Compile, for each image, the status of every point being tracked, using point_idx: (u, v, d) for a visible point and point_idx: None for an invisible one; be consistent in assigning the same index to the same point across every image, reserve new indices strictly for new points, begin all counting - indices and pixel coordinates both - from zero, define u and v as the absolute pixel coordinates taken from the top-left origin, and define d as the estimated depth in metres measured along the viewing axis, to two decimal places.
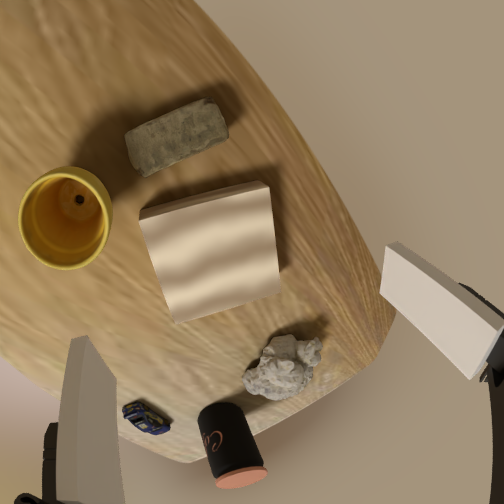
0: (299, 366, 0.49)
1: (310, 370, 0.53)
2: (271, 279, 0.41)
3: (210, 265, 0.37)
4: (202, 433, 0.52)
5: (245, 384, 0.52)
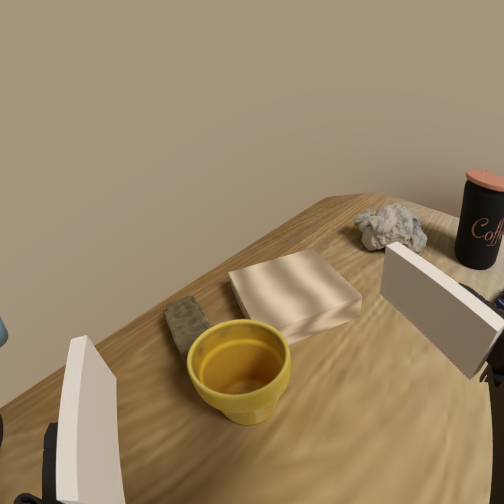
0: (374, 215, 0.57)
1: None
2: (301, 255, 0.52)
3: (295, 287, 0.44)
4: (490, 248, 0.42)
5: (418, 244, 0.51)
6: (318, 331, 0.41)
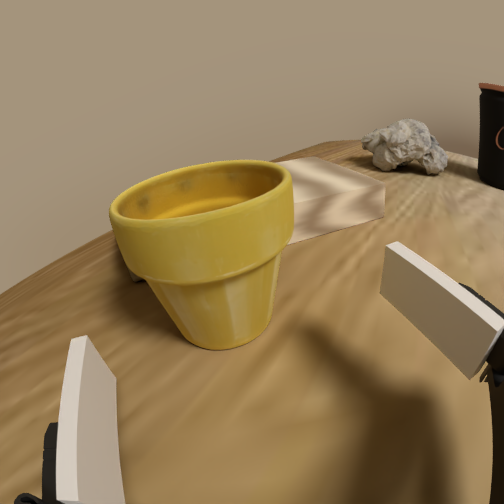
0: None
1: None
2: (301, 160, 0.40)
3: (295, 178, 0.33)
4: None
5: (439, 160, 0.39)
6: (331, 228, 0.29)
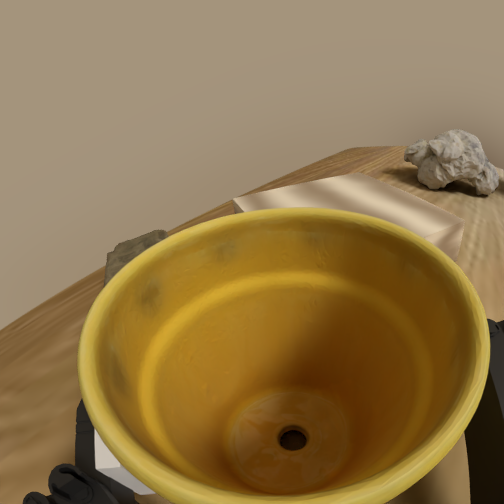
0: None
1: None
2: (347, 178, 0.32)
3: (353, 209, 0.24)
4: None
5: (492, 180, 0.30)
6: None
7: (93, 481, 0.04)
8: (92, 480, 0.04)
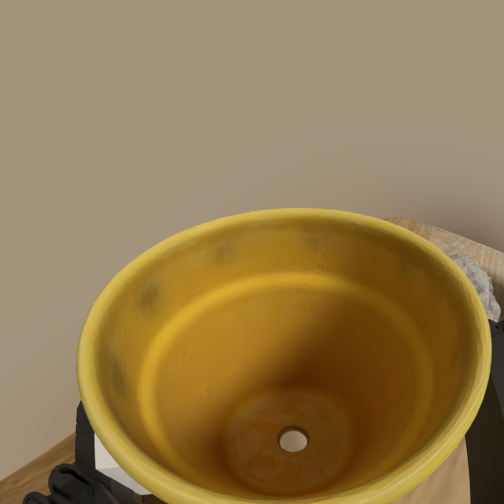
0: None
1: None
2: None
3: (299, 450, 0.20)
4: None
5: None
6: None
7: (93, 481, 0.04)
8: (92, 480, 0.04)
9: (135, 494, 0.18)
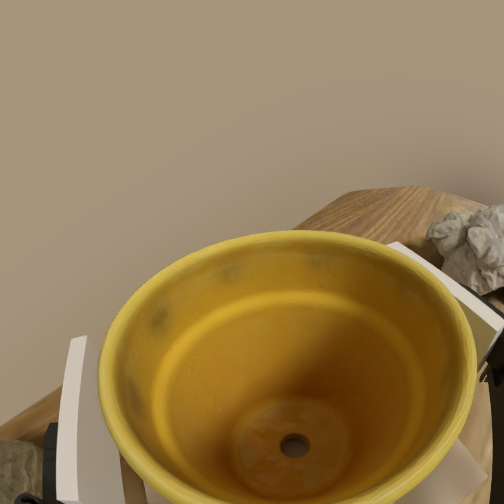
0: (471, 225, 0.23)
1: (472, 218, 0.27)
2: None
3: None
4: None
5: None
6: None
7: None
8: None
9: None
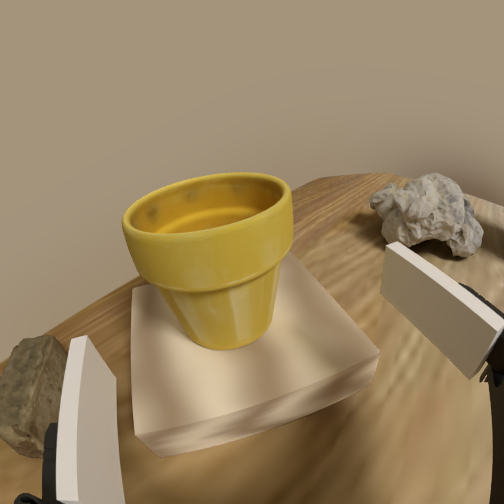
0: None
1: None
2: None
3: None
4: None
5: (472, 241, 0.27)
6: (280, 423, 0.17)
7: None
8: None
9: (59, 385, 0.19)
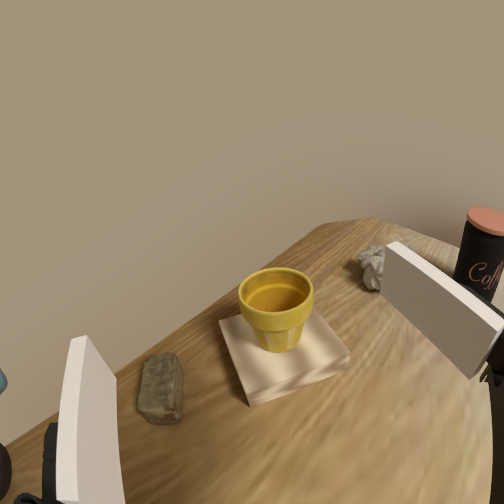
0: (377, 254, 0.55)
1: None
2: None
3: None
4: (486, 290, 0.41)
5: None
6: (305, 385, 0.40)
7: None
8: None
9: (180, 381, 0.41)
